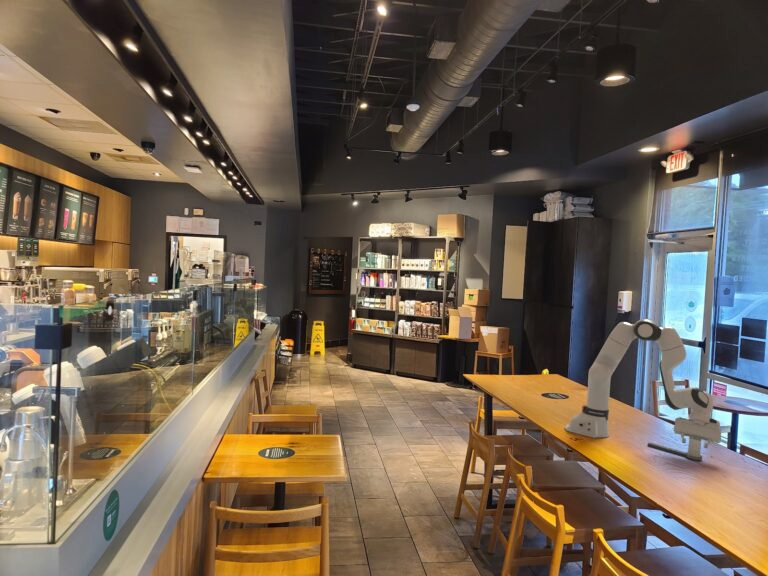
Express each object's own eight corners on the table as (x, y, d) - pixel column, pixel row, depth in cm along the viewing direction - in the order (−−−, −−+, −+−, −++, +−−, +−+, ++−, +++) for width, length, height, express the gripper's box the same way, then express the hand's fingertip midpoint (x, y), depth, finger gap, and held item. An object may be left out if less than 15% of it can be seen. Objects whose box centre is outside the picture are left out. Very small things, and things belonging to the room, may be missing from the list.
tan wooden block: (687, 454, 254) (689, 438, 254) (687, 452, 259) (689, 436, 258) (699, 457, 252) (701, 441, 251) (699, 454, 256) (701, 438, 256)
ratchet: (704, 459, 255) (705, 448, 255) (699, 462, 250) (700, 451, 250) (651, 444, 273) (652, 434, 273) (645, 446, 268) (646, 436, 268)
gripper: (675, 412, 266) (670, 435, 259) (723, 422, 254) (718, 447, 246) (676, 419, 270) (671, 442, 263) (723, 429, 257) (719, 454, 250)
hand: (694, 444), depth 254 cm, fingers open, 8 cm apart
